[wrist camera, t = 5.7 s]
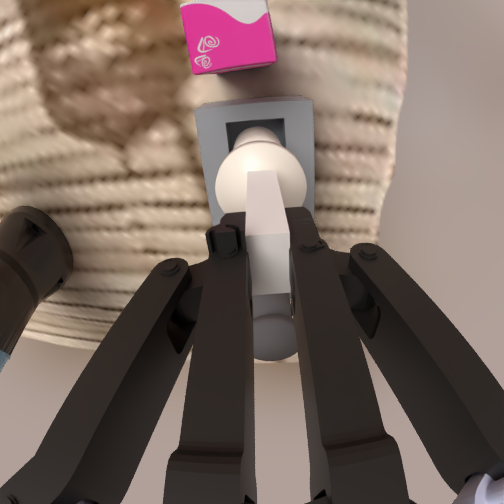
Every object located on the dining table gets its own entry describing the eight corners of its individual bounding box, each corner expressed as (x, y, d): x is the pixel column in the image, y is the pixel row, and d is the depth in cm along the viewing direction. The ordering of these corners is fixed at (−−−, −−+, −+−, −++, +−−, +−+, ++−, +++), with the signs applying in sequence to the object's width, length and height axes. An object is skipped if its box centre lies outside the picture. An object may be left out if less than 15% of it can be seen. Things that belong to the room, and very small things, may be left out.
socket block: (230, 271, 40) (227, 302, 35) (204, 103, 27) (194, 110, 22) (303, 265, 39) (311, 296, 34) (301, 95, 27) (312, 100, 22)
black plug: (246, 295, 33) (245, 362, 26) (241, 259, 30) (238, 327, 23) (291, 292, 33) (301, 358, 26) (291, 255, 30) (303, 322, 23)
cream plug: (230, 179, 25) (221, 232, 18) (223, 122, 23) (209, 150, 15) (289, 174, 25) (306, 225, 18) (286, 117, 22) (305, 142, 15)
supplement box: (203, 26, 22) (177, 1, 13) (262, 16, 22) (269, -15, 12) (212, 75, 25) (191, 76, 16) (270, 66, 25) (283, 61, 16)
